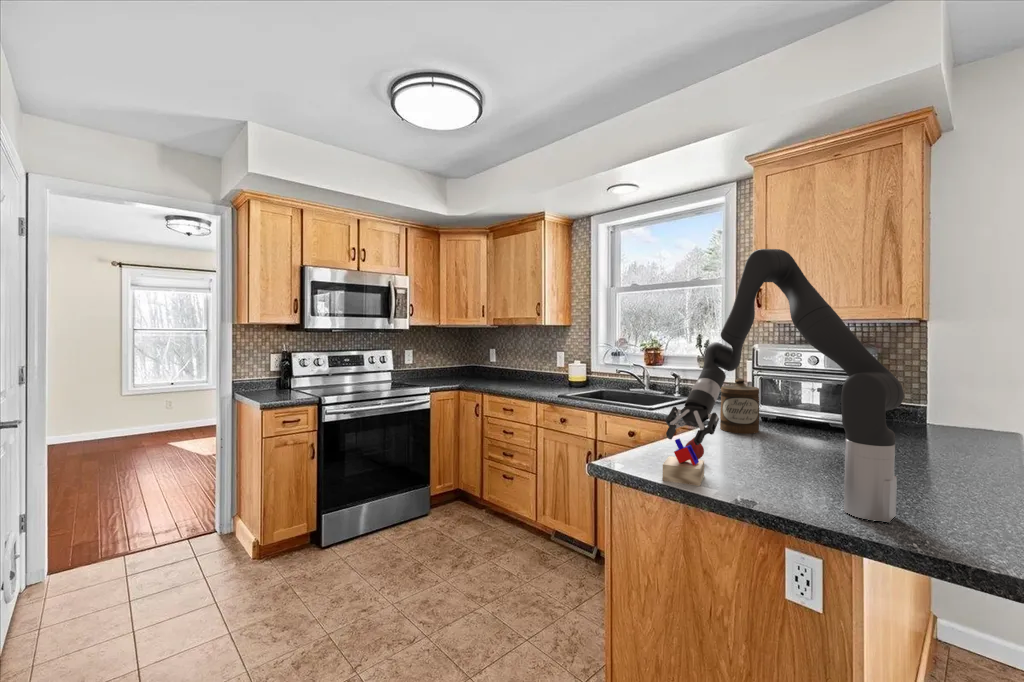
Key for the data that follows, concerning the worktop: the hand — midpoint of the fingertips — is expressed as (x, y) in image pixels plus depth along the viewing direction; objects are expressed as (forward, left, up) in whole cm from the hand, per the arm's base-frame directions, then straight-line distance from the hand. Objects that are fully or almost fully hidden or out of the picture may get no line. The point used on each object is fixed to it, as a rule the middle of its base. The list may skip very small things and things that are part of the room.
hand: (682, 440), depth 139 cm
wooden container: (+20, -78, -11) cm, 82 cm away
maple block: (0, -1, -12) cm, 12 cm away
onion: (+7, -19, -11) cm, 23 cm away
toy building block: (-1, -1, -7) cm, 7 cm away
